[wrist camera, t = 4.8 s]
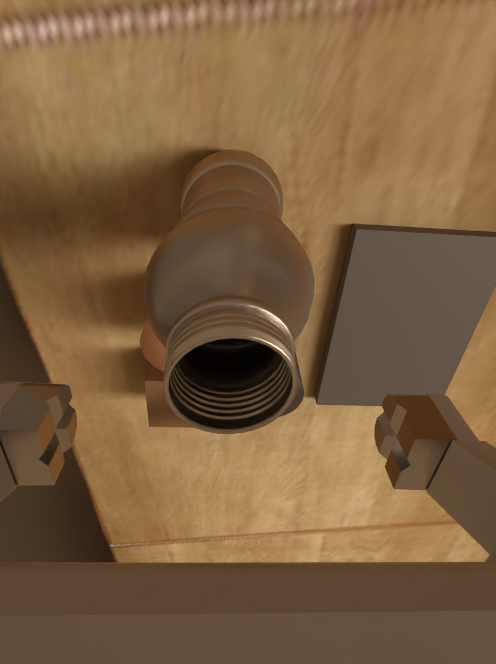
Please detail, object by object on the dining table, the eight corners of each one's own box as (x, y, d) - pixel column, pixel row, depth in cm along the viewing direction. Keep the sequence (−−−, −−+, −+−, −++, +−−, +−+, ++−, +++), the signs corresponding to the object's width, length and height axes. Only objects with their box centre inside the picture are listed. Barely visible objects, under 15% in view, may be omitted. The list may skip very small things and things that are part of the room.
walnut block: (155, 343, 34) (144, 380, 30) (212, 345, 34) (210, 382, 30) (158, 386, 37) (149, 426, 32) (211, 388, 37) (209, 427, 33)
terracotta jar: (155, 264, 30) (136, 311, 24) (221, 267, 30) (218, 314, 24) (159, 319, 32) (143, 373, 27) (219, 322, 33) (216, 376, 27)
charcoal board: (352, 223, 29) (356, 229, 28) (507, 233, 29) (517, 238, 28) (314, 395, 38) (316, 404, 37) (433, 398, 39) (438, 407, 38)
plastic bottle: (295, 207, 28) (393, 407, 11) (217, 256, 30) (201, 491, 13) (247, 121, 25) (281, 219, 8) (163, 182, 26) (48, 365, 10)
